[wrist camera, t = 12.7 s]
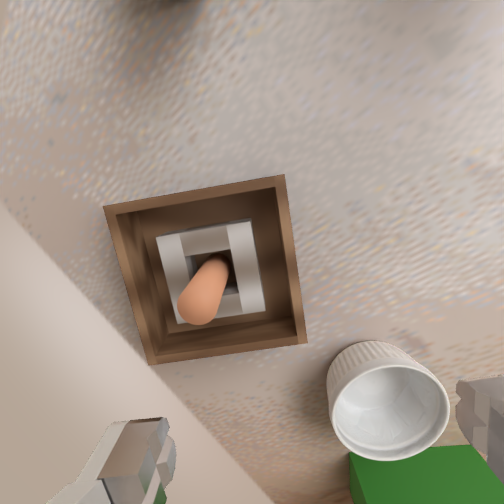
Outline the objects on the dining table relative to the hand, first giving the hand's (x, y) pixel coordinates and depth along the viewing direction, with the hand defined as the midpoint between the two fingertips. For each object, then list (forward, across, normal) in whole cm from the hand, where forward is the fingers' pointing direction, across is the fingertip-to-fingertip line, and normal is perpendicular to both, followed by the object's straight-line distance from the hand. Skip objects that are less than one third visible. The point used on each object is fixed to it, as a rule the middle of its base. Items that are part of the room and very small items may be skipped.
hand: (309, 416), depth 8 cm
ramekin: (+26, -10, +22) cm, 35 cm away
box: (+26, +7, +3) cm, 27 cm away
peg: (+25, +7, +3) cm, 26 cm away
